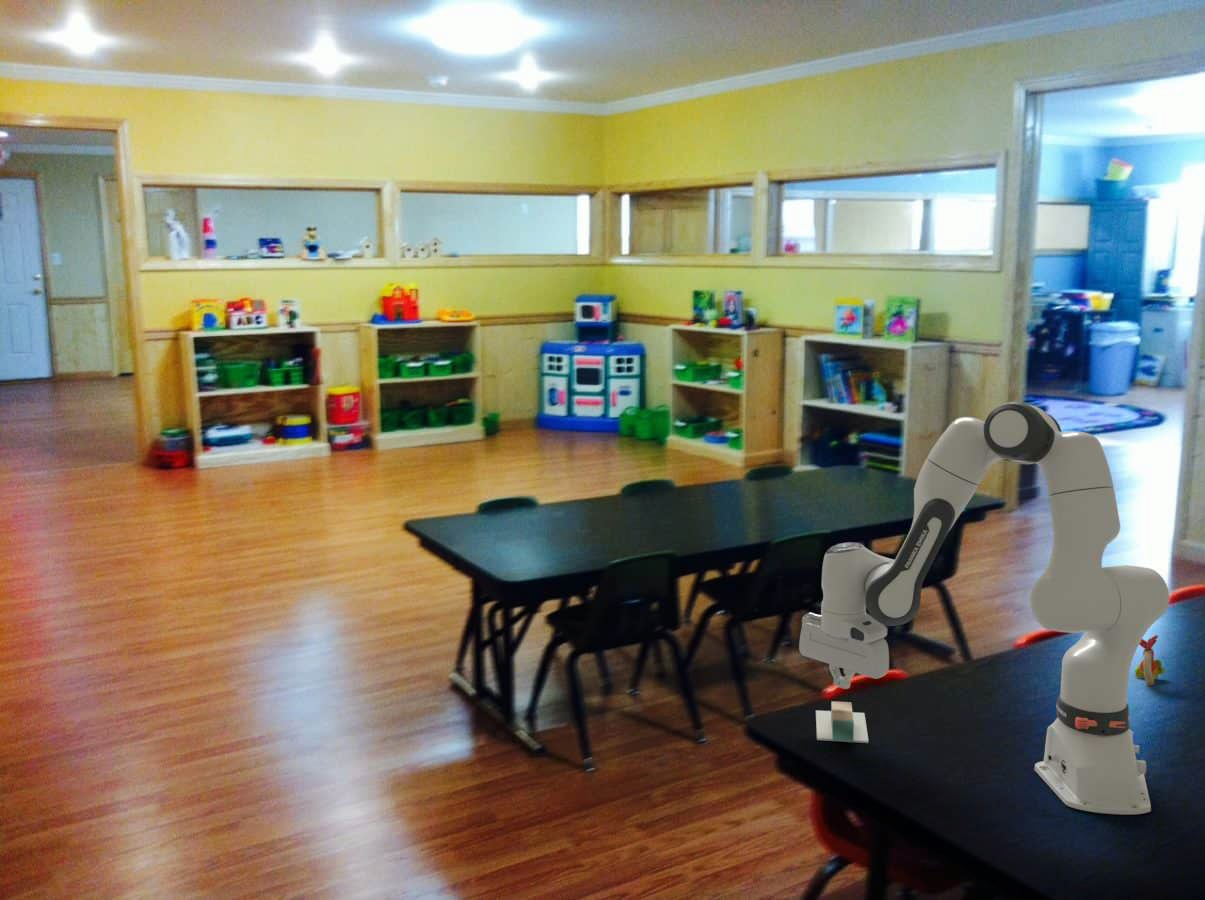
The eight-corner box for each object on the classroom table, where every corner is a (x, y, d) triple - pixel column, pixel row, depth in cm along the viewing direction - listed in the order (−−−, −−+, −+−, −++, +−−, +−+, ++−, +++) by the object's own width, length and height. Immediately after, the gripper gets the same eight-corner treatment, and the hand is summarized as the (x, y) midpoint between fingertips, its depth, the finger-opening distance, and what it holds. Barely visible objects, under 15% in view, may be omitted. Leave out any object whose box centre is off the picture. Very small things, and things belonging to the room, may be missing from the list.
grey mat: (868, 743, 216) (868, 741, 216) (816, 740, 217) (816, 738, 217) (864, 714, 229) (864, 712, 229) (815, 712, 231) (815, 710, 231)
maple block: (850, 720, 225) (853, 741, 216) (831, 719, 226) (832, 740, 216) (851, 702, 225) (853, 722, 215) (831, 701, 225) (832, 720, 216)
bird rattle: (1164, 696, 242) (1165, 668, 248) (1168, 659, 236) (1168, 631, 243) (1133, 692, 244) (1134, 664, 251) (1135, 655, 239) (1136, 628, 245)
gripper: (793, 613, 227) (792, 676, 229) (875, 637, 212) (873, 705, 214) (812, 607, 231) (811, 669, 233) (894, 630, 216) (892, 696, 218)
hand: (841, 686), depth 223 cm, fingers closed
